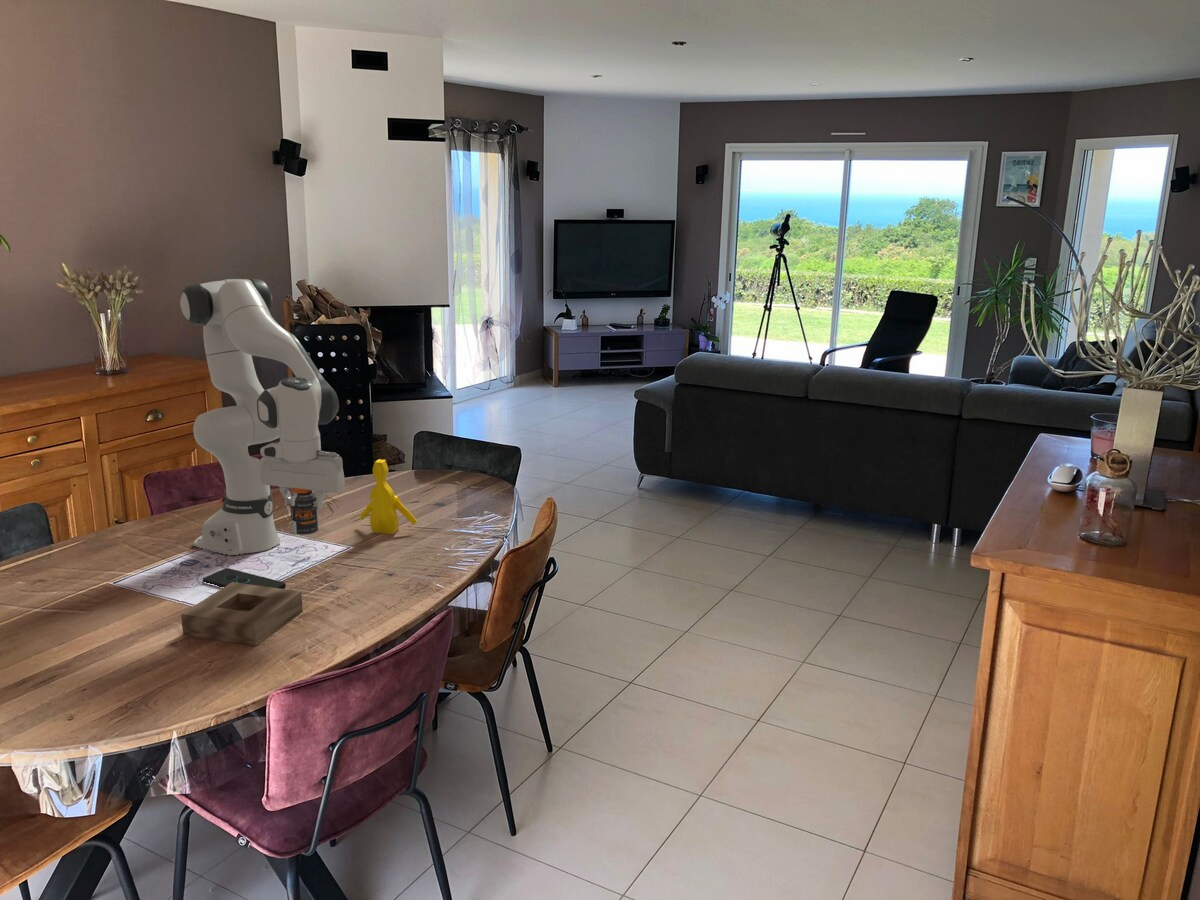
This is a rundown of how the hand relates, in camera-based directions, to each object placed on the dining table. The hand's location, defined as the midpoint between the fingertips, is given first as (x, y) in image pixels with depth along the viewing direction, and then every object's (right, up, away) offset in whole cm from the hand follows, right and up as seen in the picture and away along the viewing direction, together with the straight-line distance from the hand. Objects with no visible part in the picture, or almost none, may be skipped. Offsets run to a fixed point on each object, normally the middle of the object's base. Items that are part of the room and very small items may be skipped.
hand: (304, 506), depth 214 cm
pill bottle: (0, -6, +2) cm, 6 cm away
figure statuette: (+8, -11, +50) cm, 51 cm away
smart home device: (-18, -21, +11) cm, 30 cm away
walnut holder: (-10, -26, -9) cm, 29 cm away
